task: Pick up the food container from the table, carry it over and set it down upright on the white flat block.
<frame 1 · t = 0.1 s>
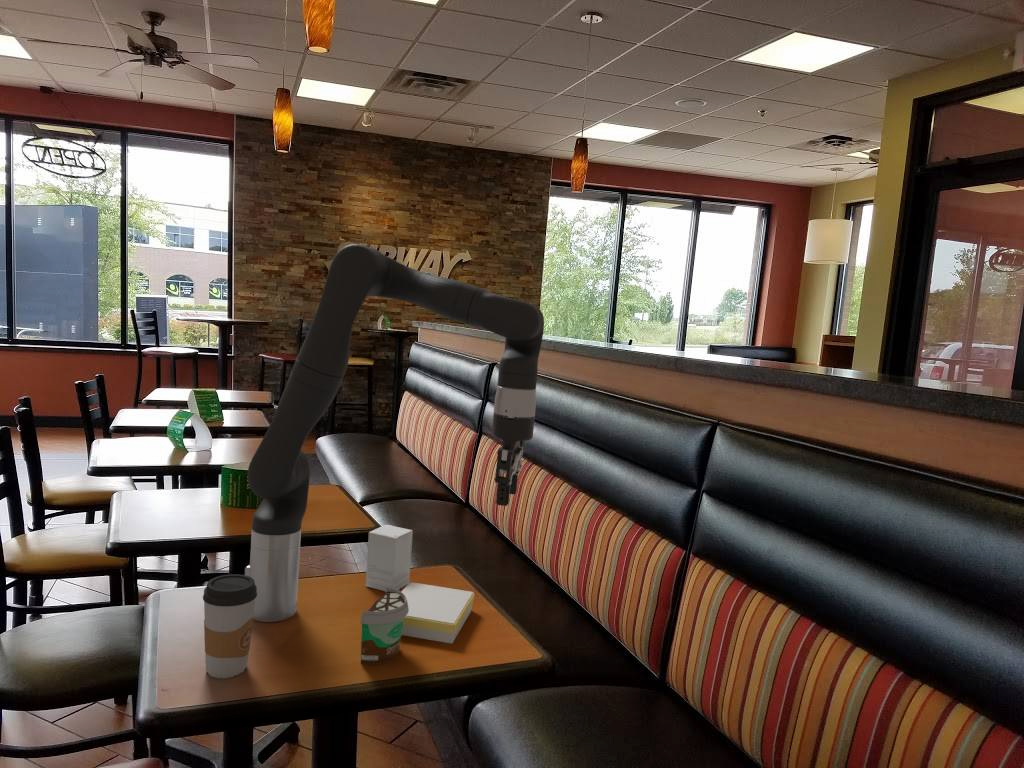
hand: (506, 499, 129), 29 cm above the table, tool pointing down, fingers open, 8 cm apart
white flat block: (428, 620, 142), on the table
supplement box: (387, 585, 158), on the table
food container: (387, 655, 127), on the table
coffee cup: (226, 670, 117), on the table
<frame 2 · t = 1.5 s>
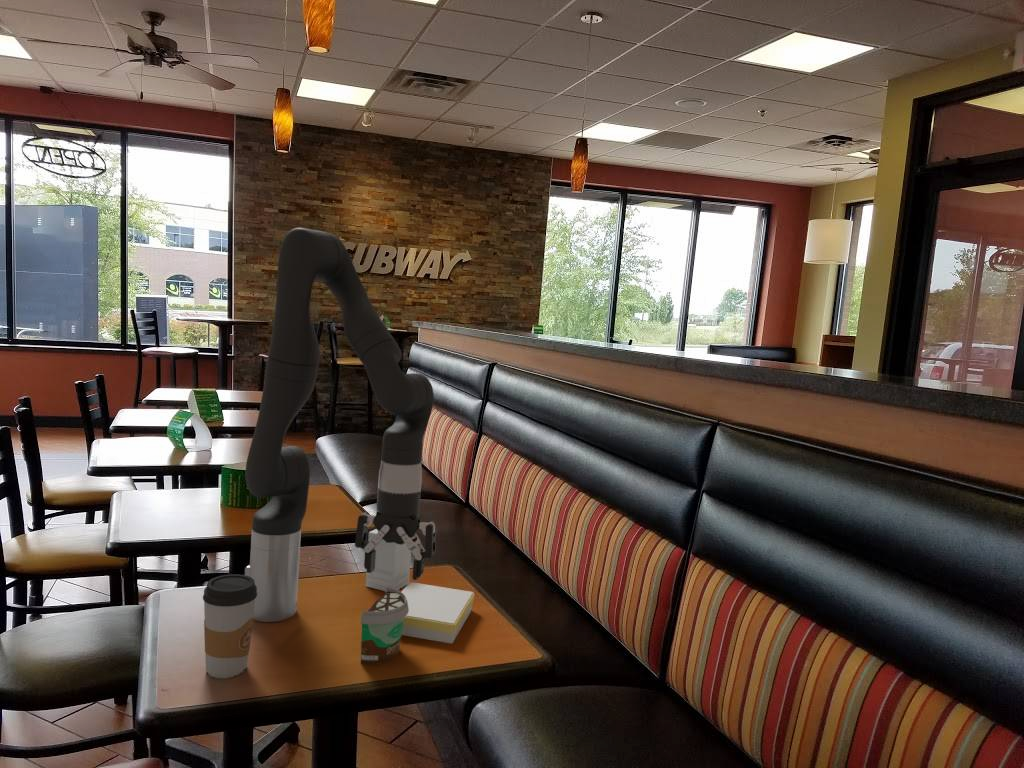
hand: (393, 575, 125), 15 cm above the table, tool pointing down, fingers open, 8 cm apart
nothing on the table moved.
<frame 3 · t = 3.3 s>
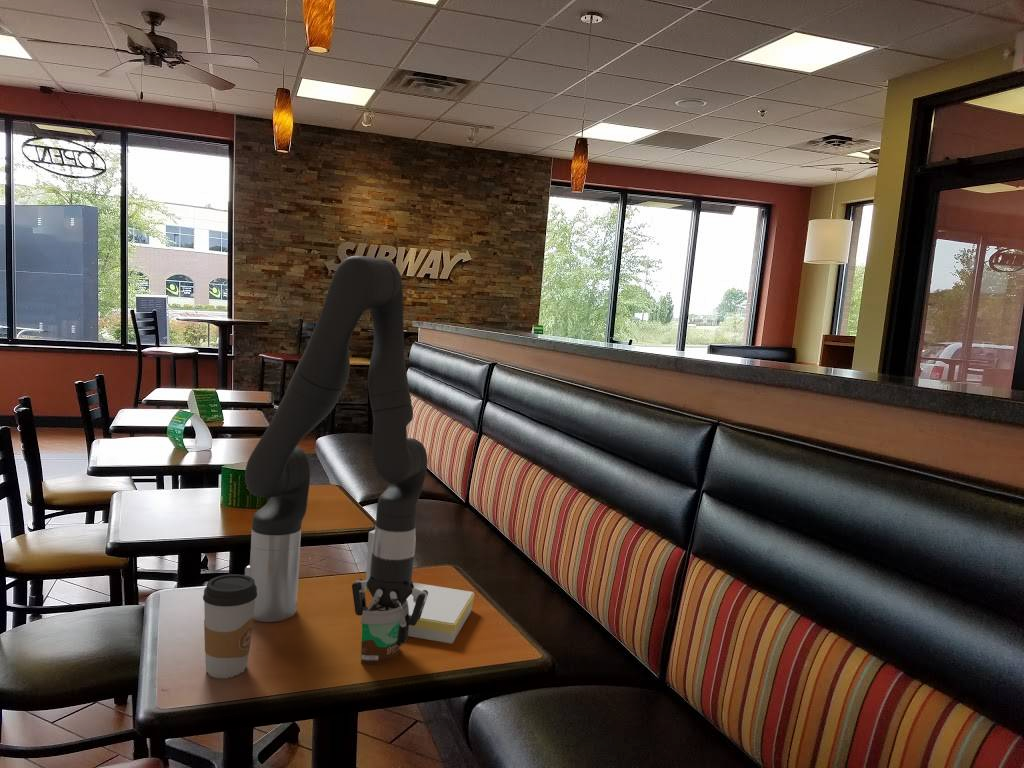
hand: (385, 640, 126), 2 cm above the table, tool pointing down, fingers closed on food container, 5 cm apart
food container: (387, 655, 127), on the table, touching gripper
everything else where it was.
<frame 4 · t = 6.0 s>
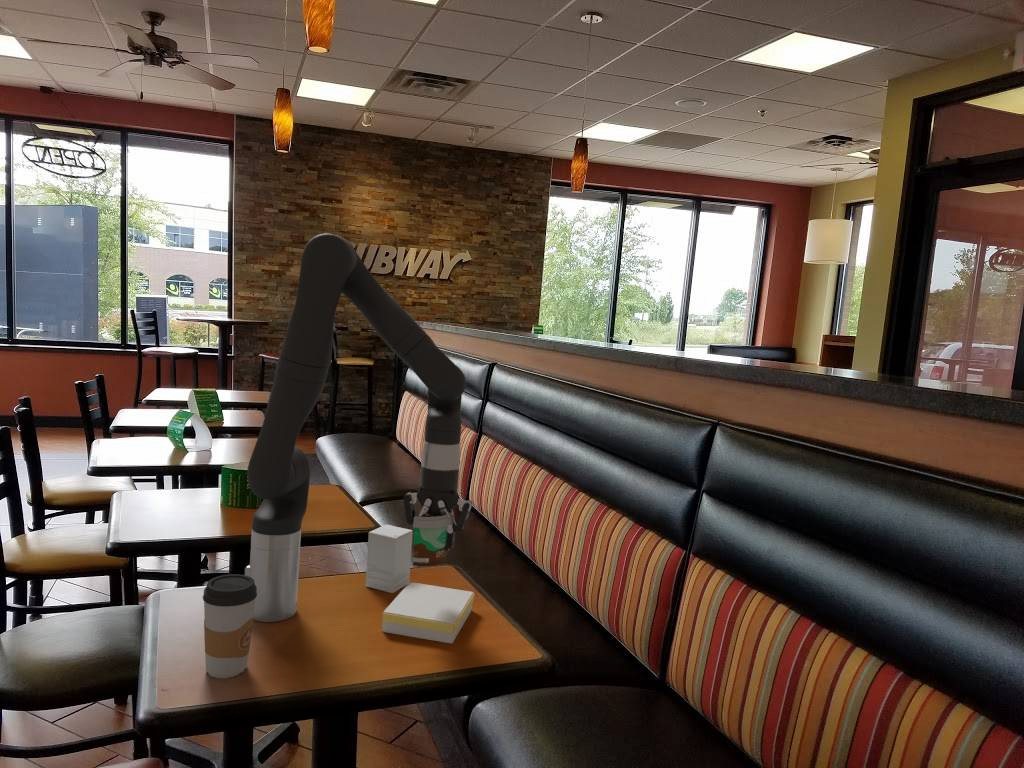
hand: (434, 547, 139), 16 cm above the table, tool pointing down, fingers closed on food container, 5 cm apart
food container: (435, 560, 139), point 13 cm above the table, touching gripper
everything else where it was.
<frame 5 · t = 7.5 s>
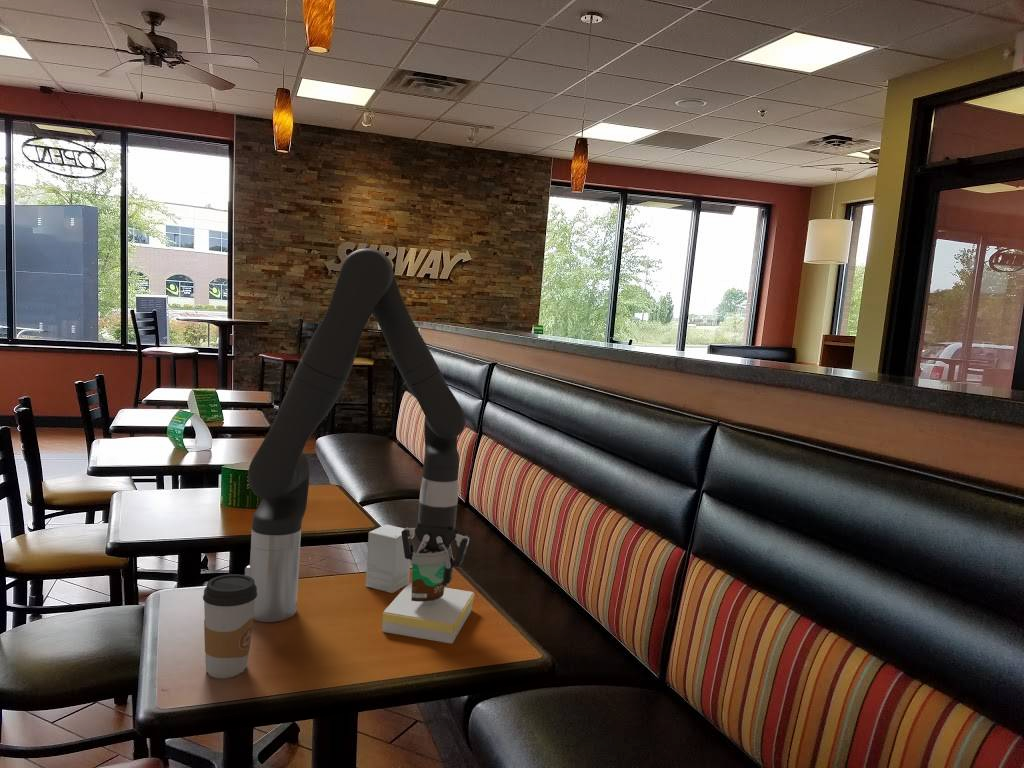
hand: (432, 582, 141), 8 cm above the table, tool pointing down, fingers closed on food container, 5 cm apart
food container: (433, 595, 141), point 5 cm above the table, touching gripper
everything else where it was.
when the fingers open (8 cm above the table, at t = 8.4 s): food container drops 1 cm, resting on white flat block.
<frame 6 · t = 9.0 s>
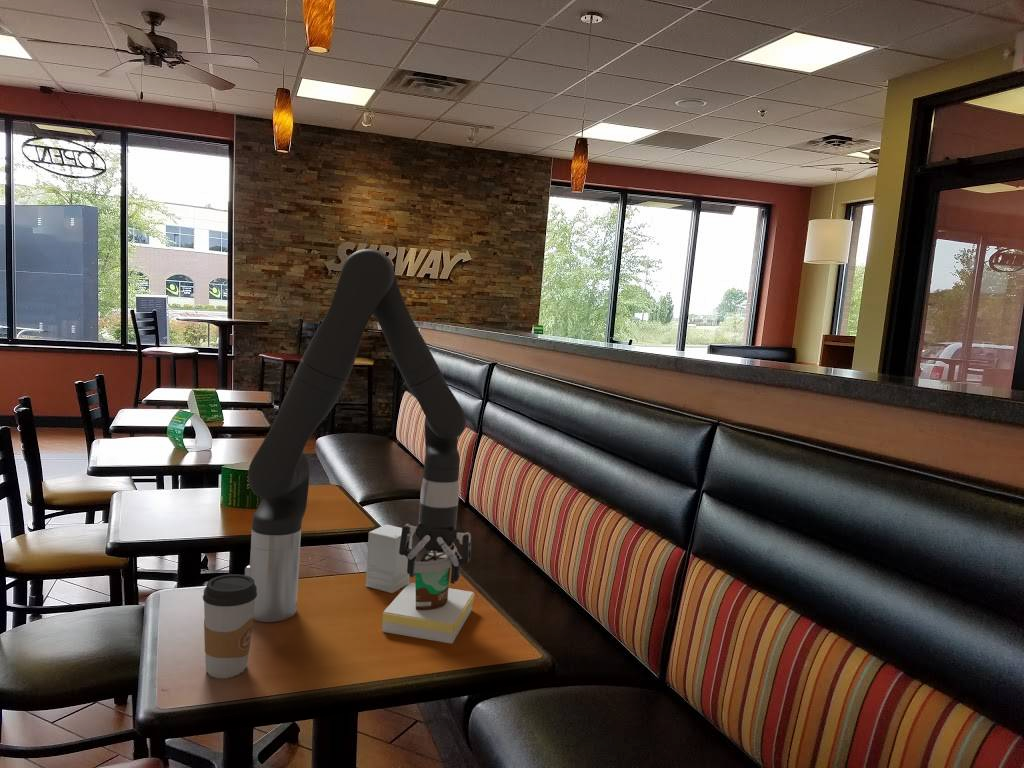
hand: (433, 579, 141), 9 cm above the table, tool pointing down, fingers open, 8 cm apart
food container: (437, 602, 141), point 4 cm above the table, touching white flat block, gripper
everything else where it was.
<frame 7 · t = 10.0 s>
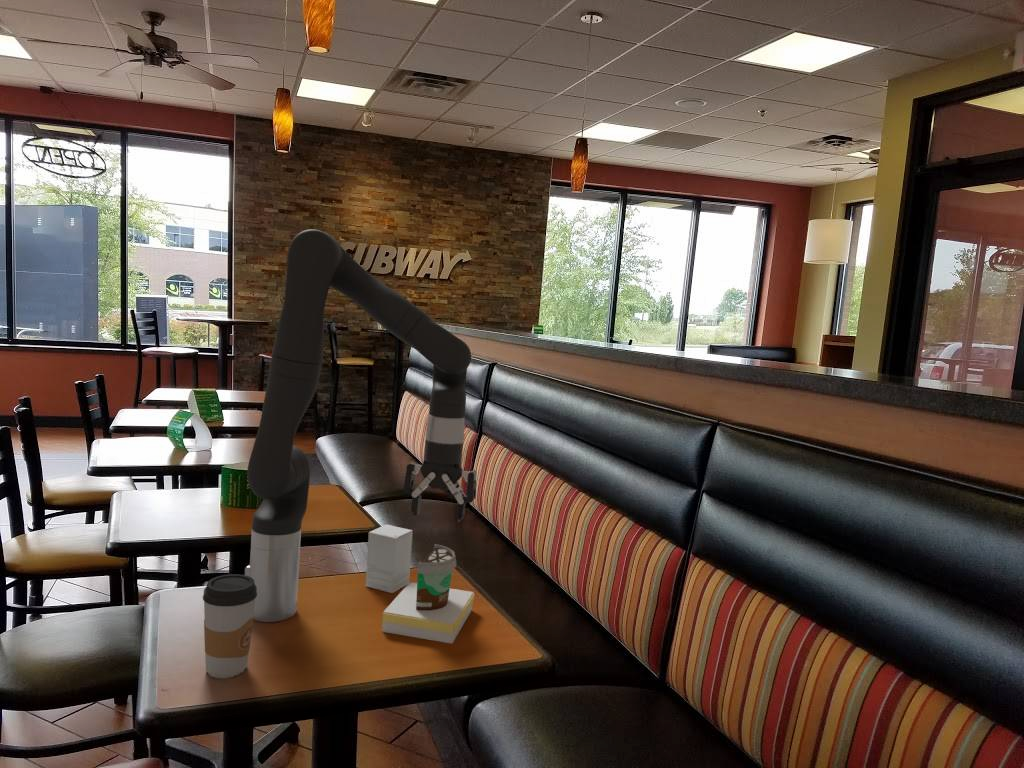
hand: (437, 518, 140), 21 cm above the table, tool pointing down, fingers open, 8 cm apart
food container: (437, 603, 141), point 4 cm above the table, touching white flat block
everything else where it was.
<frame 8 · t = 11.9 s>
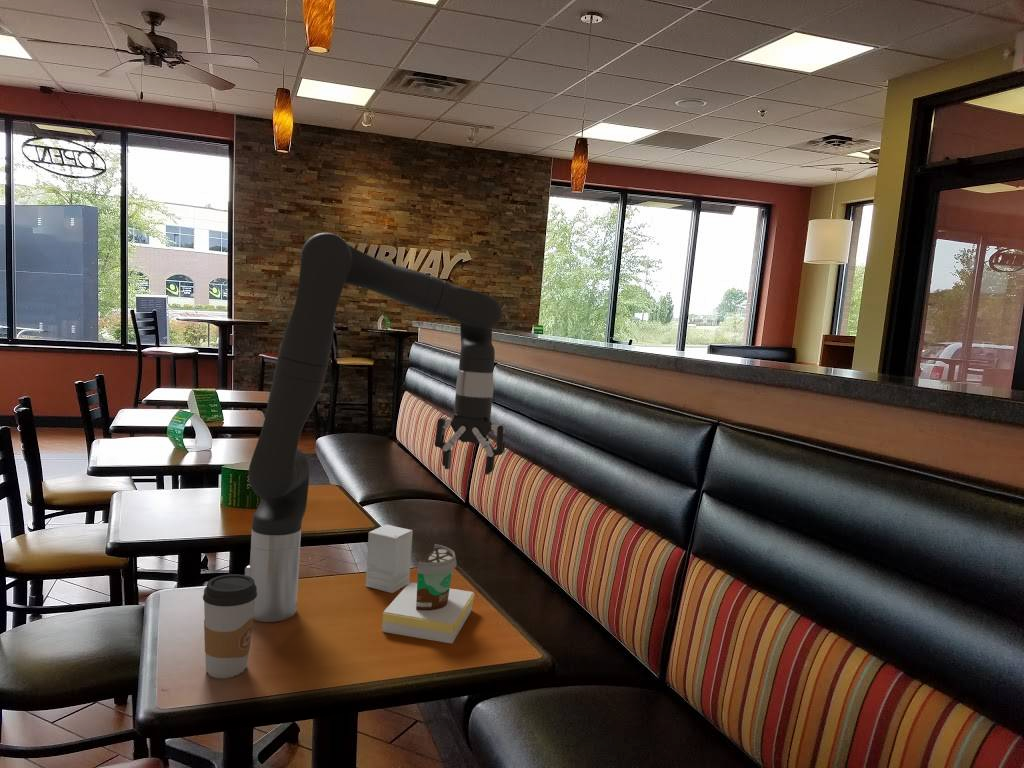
hand: (467, 471, 144), 30 cm above the table, tool pointing down, fingers open, 8 cm apart
nothing on the table moved.
at the end: food container inside the target area on the white flat block (1.5 cm from its centre), point 3.8 cm above the white flat block's base; food container tilted 0°; the gripper is holding nothing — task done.
